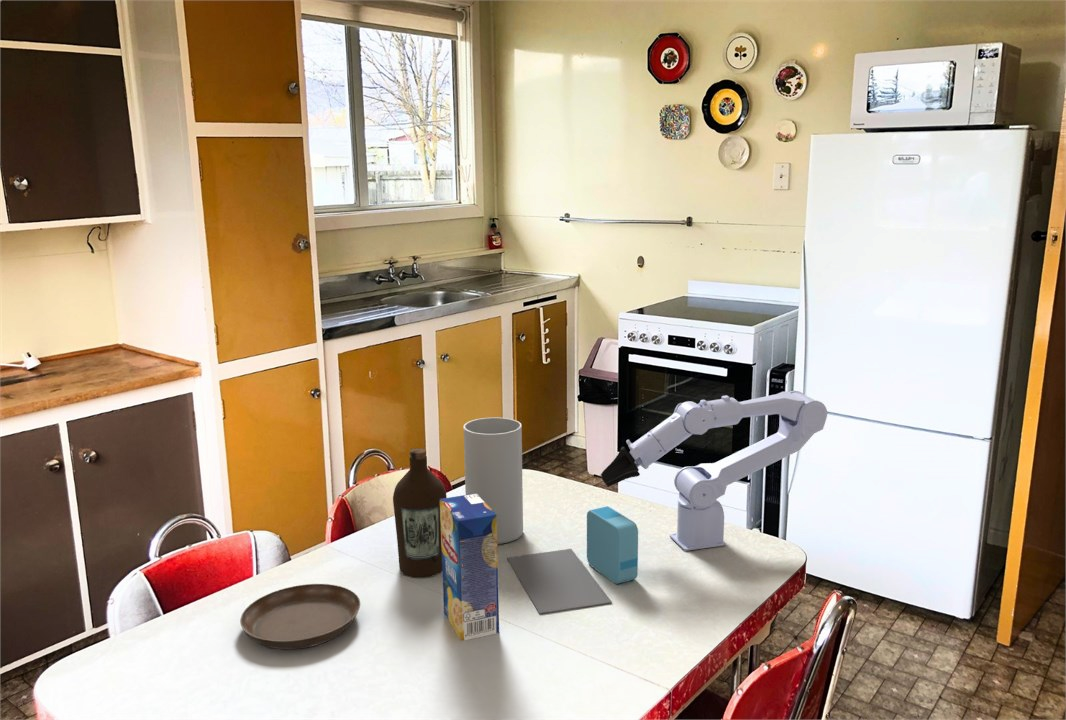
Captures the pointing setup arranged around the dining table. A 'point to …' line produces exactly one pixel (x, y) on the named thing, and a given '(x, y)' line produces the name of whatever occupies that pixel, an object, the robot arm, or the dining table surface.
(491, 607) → the beverage box
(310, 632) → the plant saucer
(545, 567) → the mat
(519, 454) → the cylinder vase
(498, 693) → the dining table surface
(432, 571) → the olive oil
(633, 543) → the data package
